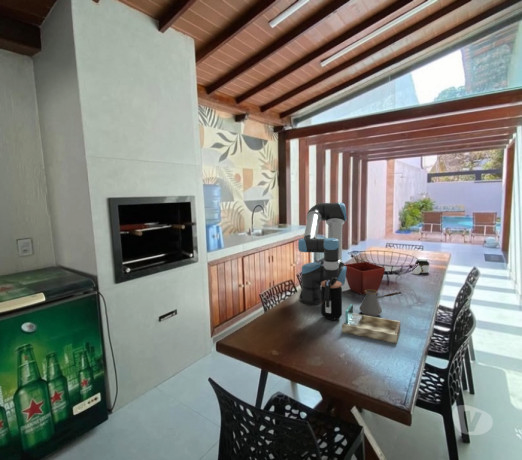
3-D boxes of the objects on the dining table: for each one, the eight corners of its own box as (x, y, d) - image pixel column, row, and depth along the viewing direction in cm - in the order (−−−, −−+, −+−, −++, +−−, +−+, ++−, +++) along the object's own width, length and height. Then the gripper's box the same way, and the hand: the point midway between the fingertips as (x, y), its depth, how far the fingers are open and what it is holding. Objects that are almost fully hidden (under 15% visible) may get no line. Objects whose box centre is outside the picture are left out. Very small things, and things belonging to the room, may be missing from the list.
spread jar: (429, 272, 236) (430, 257, 235) (428, 276, 227) (429, 261, 225) (412, 270, 243) (413, 256, 241) (411, 274, 233) (411, 259, 232)
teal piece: (343, 329, 145) (343, 311, 143) (350, 319, 155) (350, 302, 154) (356, 332, 142) (356, 314, 140) (362, 321, 152) (362, 304, 151)
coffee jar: (327, 309, 167) (326, 278, 164) (345, 314, 160) (345, 282, 157) (317, 316, 159) (317, 284, 156) (336, 321, 152) (336, 287, 149)
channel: (342, 332, 144) (342, 324, 143) (349, 320, 157) (349, 312, 156) (396, 343, 132) (396, 335, 131) (400, 329, 145) (400, 321, 144)
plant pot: (385, 292, 195) (386, 267, 192) (361, 297, 188) (362, 271, 186) (365, 284, 212) (365, 261, 210) (342, 288, 205) (342, 264, 203)
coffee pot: (356, 315, 162) (356, 288, 160) (362, 308, 171) (363, 283, 169) (399, 324, 150) (400, 295, 148) (403, 316, 159) (404, 288, 157)
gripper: (331, 275, 144) (332, 318, 147) (344, 263, 163) (344, 301, 167) (316, 273, 148) (317, 315, 151) (331, 262, 167) (331, 299, 171)
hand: (331, 308), depth 159 cm, fingers closed on coffee jar, 10 cm apart
